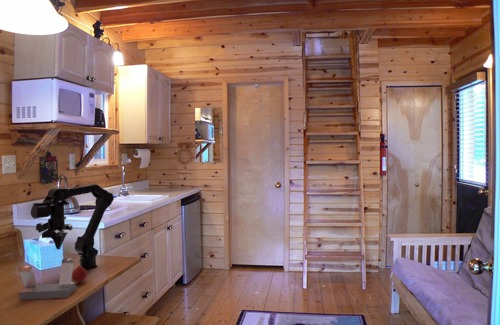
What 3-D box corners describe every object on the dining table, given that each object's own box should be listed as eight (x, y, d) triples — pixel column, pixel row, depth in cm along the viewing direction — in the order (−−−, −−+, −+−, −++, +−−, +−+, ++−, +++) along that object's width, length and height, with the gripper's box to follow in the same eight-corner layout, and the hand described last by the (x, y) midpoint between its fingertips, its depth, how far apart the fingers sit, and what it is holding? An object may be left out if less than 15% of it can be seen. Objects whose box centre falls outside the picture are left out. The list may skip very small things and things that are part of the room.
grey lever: (60, 284, 141) (64, 259, 145) (71, 284, 142) (74, 258, 145) (58, 284, 140) (61, 259, 143) (69, 284, 140) (72, 258, 143)
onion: (83, 279, 156) (82, 262, 156) (89, 282, 153) (88, 264, 152) (70, 283, 152) (69, 265, 152) (76, 286, 148) (75, 268, 148)
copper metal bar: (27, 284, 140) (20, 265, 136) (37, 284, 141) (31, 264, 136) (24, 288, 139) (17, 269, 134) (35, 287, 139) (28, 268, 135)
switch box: (30, 292, 144) (30, 284, 143) (75, 289, 145) (75, 281, 145) (19, 300, 136) (19, 291, 135) (67, 297, 137) (67, 289, 137)
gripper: (48, 213, 168) (49, 245, 169) (28, 219, 150) (29, 255, 150) (72, 212, 170) (73, 244, 170) (55, 218, 151) (56, 254, 151)
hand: (58, 249), depth 160 cm, fingers closed
